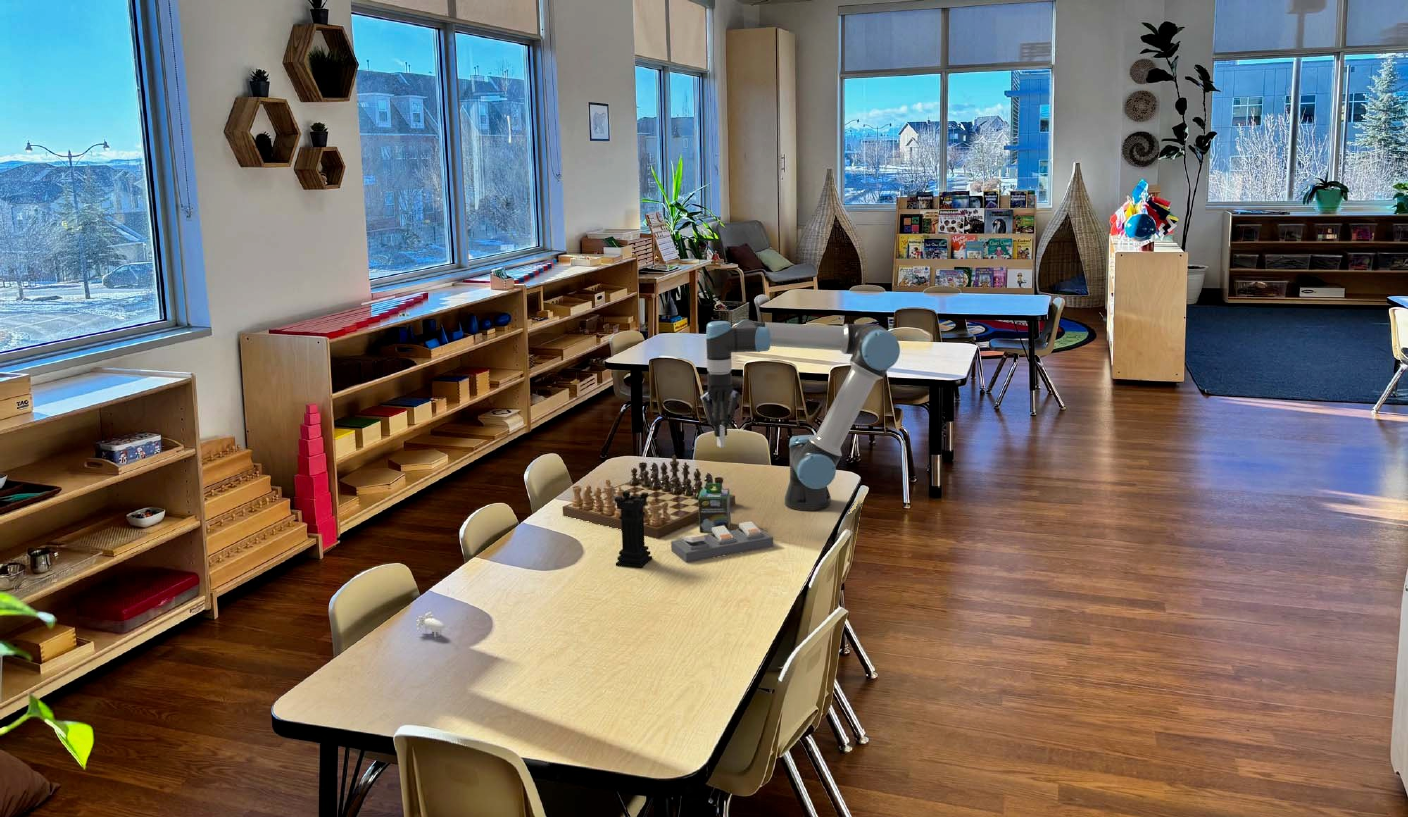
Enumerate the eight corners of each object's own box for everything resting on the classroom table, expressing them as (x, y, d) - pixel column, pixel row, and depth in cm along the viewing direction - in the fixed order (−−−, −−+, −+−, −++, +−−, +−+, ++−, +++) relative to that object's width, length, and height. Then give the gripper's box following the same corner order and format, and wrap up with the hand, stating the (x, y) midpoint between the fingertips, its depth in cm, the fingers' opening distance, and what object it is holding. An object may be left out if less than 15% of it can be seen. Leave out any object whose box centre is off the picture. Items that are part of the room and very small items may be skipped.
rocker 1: (696, 538, 327) (695, 534, 327) (704, 540, 321) (704, 536, 321) (683, 540, 325) (683, 536, 325) (692, 542, 319) (691, 538, 319)
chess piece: (652, 558, 321) (649, 492, 316) (641, 568, 313) (639, 500, 309) (626, 556, 323) (624, 490, 319) (615, 565, 316) (612, 498, 312)
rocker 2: (750, 524, 334) (751, 520, 333) (760, 534, 328) (760, 531, 328) (738, 526, 332) (739, 523, 331) (748, 536, 327) (748, 533, 326)
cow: (412, 633, 274) (410, 615, 273) (429, 626, 278) (428, 608, 277) (444, 645, 267) (442, 627, 266) (461, 638, 271) (459, 619, 270)
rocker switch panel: (756, 535, 338) (756, 523, 337) (773, 546, 328) (773, 534, 327) (671, 550, 327) (670, 538, 326) (686, 562, 317) (686, 550, 316)
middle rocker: (723, 528, 330) (724, 525, 329) (732, 540, 325) (733, 537, 324) (711, 530, 328) (711, 527, 328) (720, 542, 323) (720, 539, 323)
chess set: (658, 540, 337) (656, 493, 334) (563, 517, 361) (560, 473, 358) (735, 506, 368) (734, 462, 365) (643, 486, 392) (641, 446, 389)
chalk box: (731, 523, 350) (730, 478, 346) (728, 533, 341) (727, 486, 338) (701, 523, 351) (700, 477, 347) (698, 532, 342) (697, 486, 339)
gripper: (733, 367, 347) (734, 440, 353) (695, 372, 342) (697, 446, 348) (743, 371, 341) (745, 446, 346) (705, 376, 336) (707, 451, 341)
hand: (721, 446), depth 347 cm, fingers closed
